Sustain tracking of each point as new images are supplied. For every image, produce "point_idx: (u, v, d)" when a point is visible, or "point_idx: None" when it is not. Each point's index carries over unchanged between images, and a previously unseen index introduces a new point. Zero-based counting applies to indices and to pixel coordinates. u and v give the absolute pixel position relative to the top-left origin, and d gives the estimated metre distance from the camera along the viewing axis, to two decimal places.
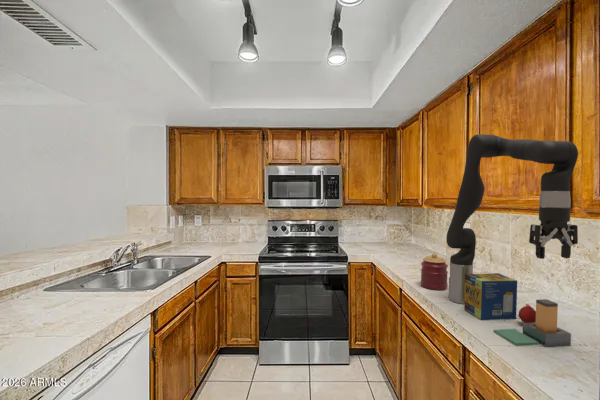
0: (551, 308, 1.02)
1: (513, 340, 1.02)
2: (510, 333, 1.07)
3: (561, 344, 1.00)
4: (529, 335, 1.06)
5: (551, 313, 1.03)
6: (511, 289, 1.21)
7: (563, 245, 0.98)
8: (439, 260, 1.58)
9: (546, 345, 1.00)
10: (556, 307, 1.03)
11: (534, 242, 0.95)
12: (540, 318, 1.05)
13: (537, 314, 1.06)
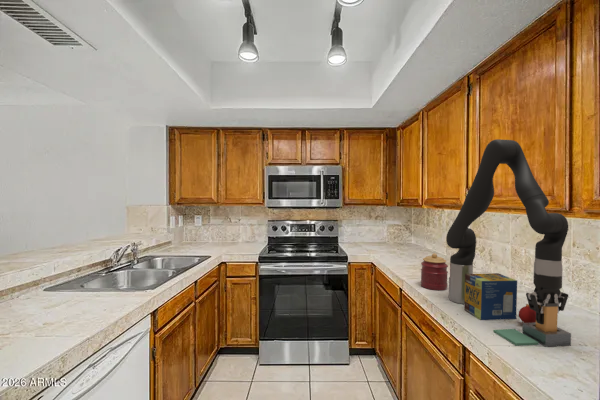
0: (551, 308, 1.02)
1: (513, 340, 1.02)
2: (510, 333, 1.07)
3: (561, 344, 1.00)
4: (529, 335, 1.06)
5: (551, 313, 1.03)
6: (511, 289, 1.21)
7: None
8: (439, 260, 1.58)
9: (546, 345, 1.00)
10: (556, 307, 1.03)
11: (534, 309, 1.03)
12: None
13: None
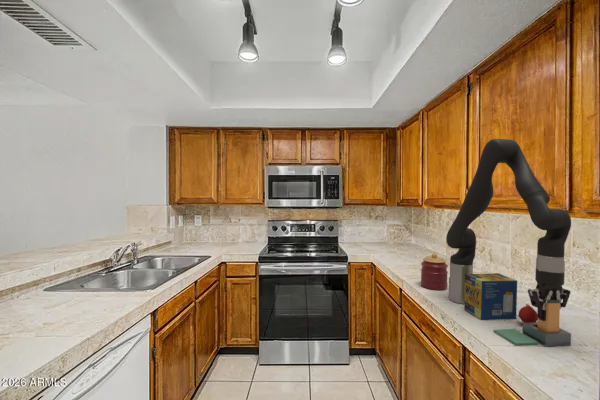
0: (553, 305, 1.02)
1: (513, 340, 1.02)
2: (510, 333, 1.07)
3: (561, 344, 1.00)
4: (529, 335, 1.06)
5: (553, 309, 1.02)
6: (511, 289, 1.21)
7: None
8: (439, 260, 1.58)
9: (546, 345, 1.00)
10: (558, 304, 1.02)
11: (536, 306, 1.03)
12: None
13: None
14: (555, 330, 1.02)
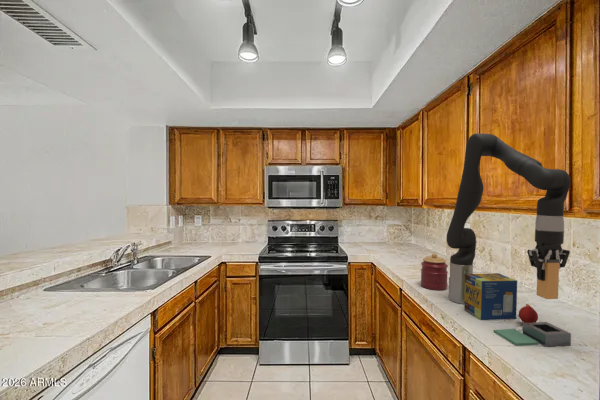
0: (553, 264, 1.02)
1: (513, 340, 1.02)
2: (510, 333, 1.07)
3: (561, 344, 1.00)
4: (529, 335, 1.06)
5: (553, 269, 1.02)
6: (511, 289, 1.21)
7: None
8: (439, 260, 1.58)
9: (546, 345, 1.00)
10: (558, 263, 1.02)
11: (535, 265, 1.03)
12: None
13: None
14: (554, 290, 1.02)
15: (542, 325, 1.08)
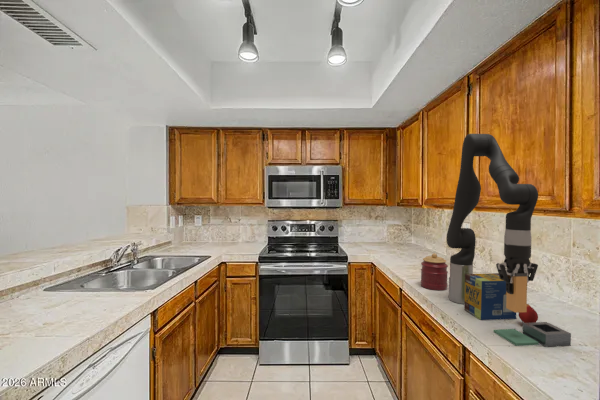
0: (521, 278, 1.03)
1: (513, 340, 1.02)
2: (510, 333, 1.07)
3: (561, 344, 1.00)
4: (529, 335, 1.06)
5: (521, 282, 1.03)
6: None
7: None
8: (439, 260, 1.58)
9: (546, 345, 1.00)
10: (526, 277, 1.03)
11: (504, 279, 1.04)
12: None
13: None
14: (523, 303, 1.03)
15: (542, 325, 1.08)
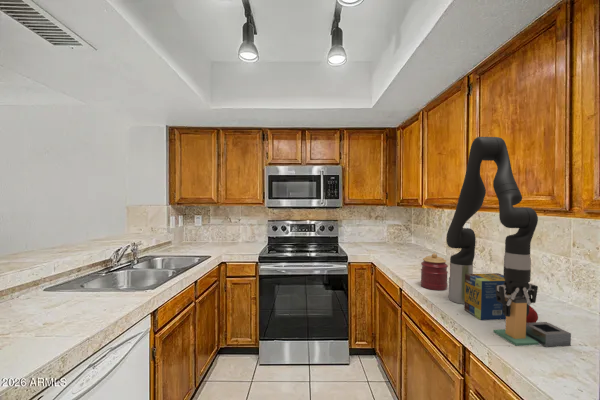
0: (520, 304, 1.03)
1: (513, 340, 1.02)
2: None
3: (561, 344, 1.00)
4: (529, 335, 1.06)
5: (520, 309, 1.03)
6: None
7: None
8: (439, 260, 1.58)
9: (546, 345, 1.00)
10: (525, 303, 1.04)
11: (500, 301, 1.04)
12: (510, 314, 1.05)
13: None
14: (522, 329, 1.04)
15: (542, 325, 1.08)
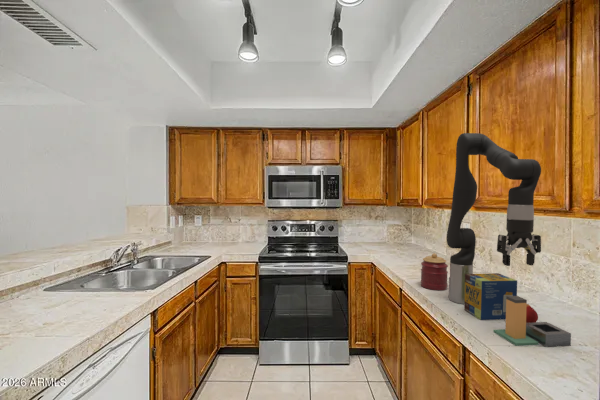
0: (520, 304, 1.03)
1: (513, 340, 1.02)
2: None
3: (561, 344, 1.00)
4: (529, 335, 1.06)
5: (520, 309, 1.03)
6: (511, 289, 1.21)
7: (528, 253, 1.07)
8: (439, 260, 1.58)
9: (546, 345, 1.00)
10: (525, 303, 1.04)
11: (501, 251, 1.05)
12: (510, 314, 1.06)
13: (507, 310, 1.07)
14: (522, 329, 1.04)
15: (542, 325, 1.08)
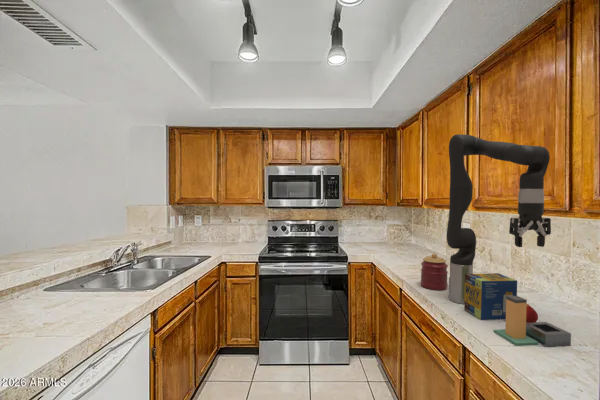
0: (520, 304, 1.03)
1: (513, 340, 1.02)
2: None
3: (561, 344, 1.00)
4: (529, 335, 1.06)
5: (520, 309, 1.03)
6: (511, 289, 1.21)
7: None
8: (439, 260, 1.58)
9: (546, 345, 1.00)
10: (525, 303, 1.04)
11: (513, 233, 1.10)
12: (510, 314, 1.06)
13: (507, 310, 1.07)
14: (522, 329, 1.04)
15: (542, 325, 1.08)
